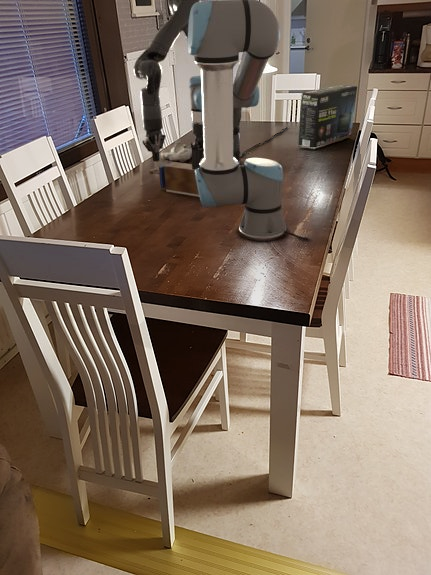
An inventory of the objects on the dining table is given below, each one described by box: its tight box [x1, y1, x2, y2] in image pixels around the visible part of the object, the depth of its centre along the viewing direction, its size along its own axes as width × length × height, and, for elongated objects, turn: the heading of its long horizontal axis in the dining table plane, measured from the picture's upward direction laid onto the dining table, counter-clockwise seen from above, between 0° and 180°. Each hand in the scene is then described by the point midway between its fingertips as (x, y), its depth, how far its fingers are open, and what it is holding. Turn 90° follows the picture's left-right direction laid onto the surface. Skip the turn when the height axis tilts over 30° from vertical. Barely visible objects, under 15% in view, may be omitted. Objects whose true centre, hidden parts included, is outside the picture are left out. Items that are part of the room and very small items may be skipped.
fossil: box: [160, 142, 192, 163], centre depth 229 cm, size 18×11×15 cm
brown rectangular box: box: [164, 161, 200, 198], centre depth 183 cm, size 21×6×10 cm, turn 61°
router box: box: [297, 84, 358, 151], centre depth 238 cm, size 36×11×27 cm, turn 134°
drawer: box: [149, 163, 168, 189], centre depth 185 cm, size 25×5×9 cm, turn 61°
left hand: (156, 161), depth 187 cm, fingers closed
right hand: (205, 183), depth 180 cm, fingers closed on brown rectangular box, 6 cm apart
